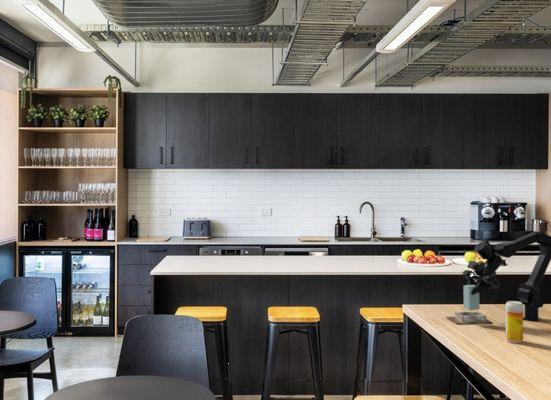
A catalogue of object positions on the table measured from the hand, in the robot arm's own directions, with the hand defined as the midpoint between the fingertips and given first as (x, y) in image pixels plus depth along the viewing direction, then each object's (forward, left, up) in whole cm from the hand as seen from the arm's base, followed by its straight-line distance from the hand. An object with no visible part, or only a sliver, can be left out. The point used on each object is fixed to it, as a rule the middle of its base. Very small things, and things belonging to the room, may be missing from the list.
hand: (468, 293), depth 228 cm
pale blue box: (-1, +1, -7) cm, 7 cm away
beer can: (+16, +23, -14) cm, 31 cm away
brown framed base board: (-6, -2, -13) cm, 15 cm away
